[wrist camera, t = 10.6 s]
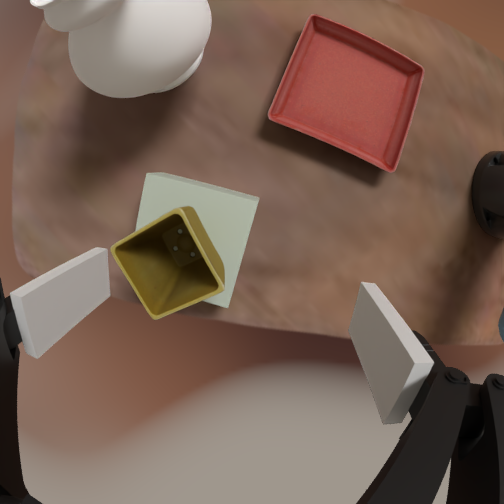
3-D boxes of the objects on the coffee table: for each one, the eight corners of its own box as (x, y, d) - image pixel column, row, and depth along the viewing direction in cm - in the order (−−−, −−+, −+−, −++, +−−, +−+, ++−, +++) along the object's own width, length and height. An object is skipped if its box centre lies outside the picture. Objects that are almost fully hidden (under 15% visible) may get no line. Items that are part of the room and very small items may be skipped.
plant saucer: (307, 21, 31) (310, 11, 27) (416, 73, 31) (426, 67, 28) (265, 123, 36) (265, 118, 32) (384, 175, 36) (394, 175, 33)
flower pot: (236, 259, 35) (226, 291, 26) (176, 287, 36) (152, 322, 28) (201, 194, 33) (179, 205, 24) (142, 227, 34) (107, 247, 26)
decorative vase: (233, 89, 34) (184, -16, 10) (117, 126, 36) (-17, 105, 12) (210, -4, 29) (165, -113, 5) (106, 34, 31) (8, -25, 7)
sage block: (259, 197, 39) (258, 202, 33) (233, 289, 42) (227, 308, 37) (163, 172, 38) (146, 173, 32) (145, 263, 42) (129, 276, 36)
